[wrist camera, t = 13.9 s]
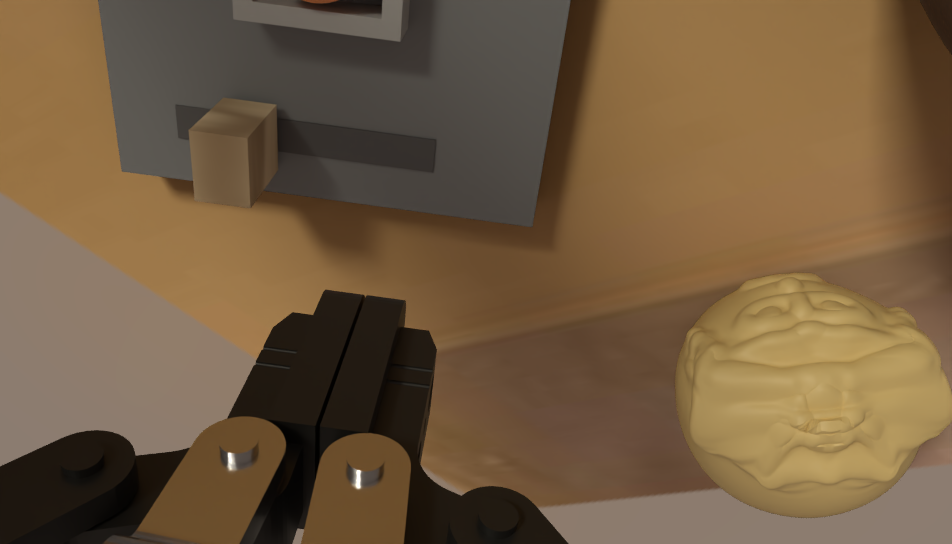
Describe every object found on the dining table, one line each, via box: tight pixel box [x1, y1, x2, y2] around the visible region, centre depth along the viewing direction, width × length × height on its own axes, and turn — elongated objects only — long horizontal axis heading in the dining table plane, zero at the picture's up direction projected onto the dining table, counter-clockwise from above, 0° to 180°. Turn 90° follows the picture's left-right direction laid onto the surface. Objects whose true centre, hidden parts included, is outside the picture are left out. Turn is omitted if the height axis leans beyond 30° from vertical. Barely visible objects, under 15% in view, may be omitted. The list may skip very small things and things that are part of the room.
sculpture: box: [675, 273, 952, 518], centre depth 38 cm, size 11×12×11 cm
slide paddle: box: [189, 98, 278, 208], centre depth 34 cm, size 2×3×4 cm
